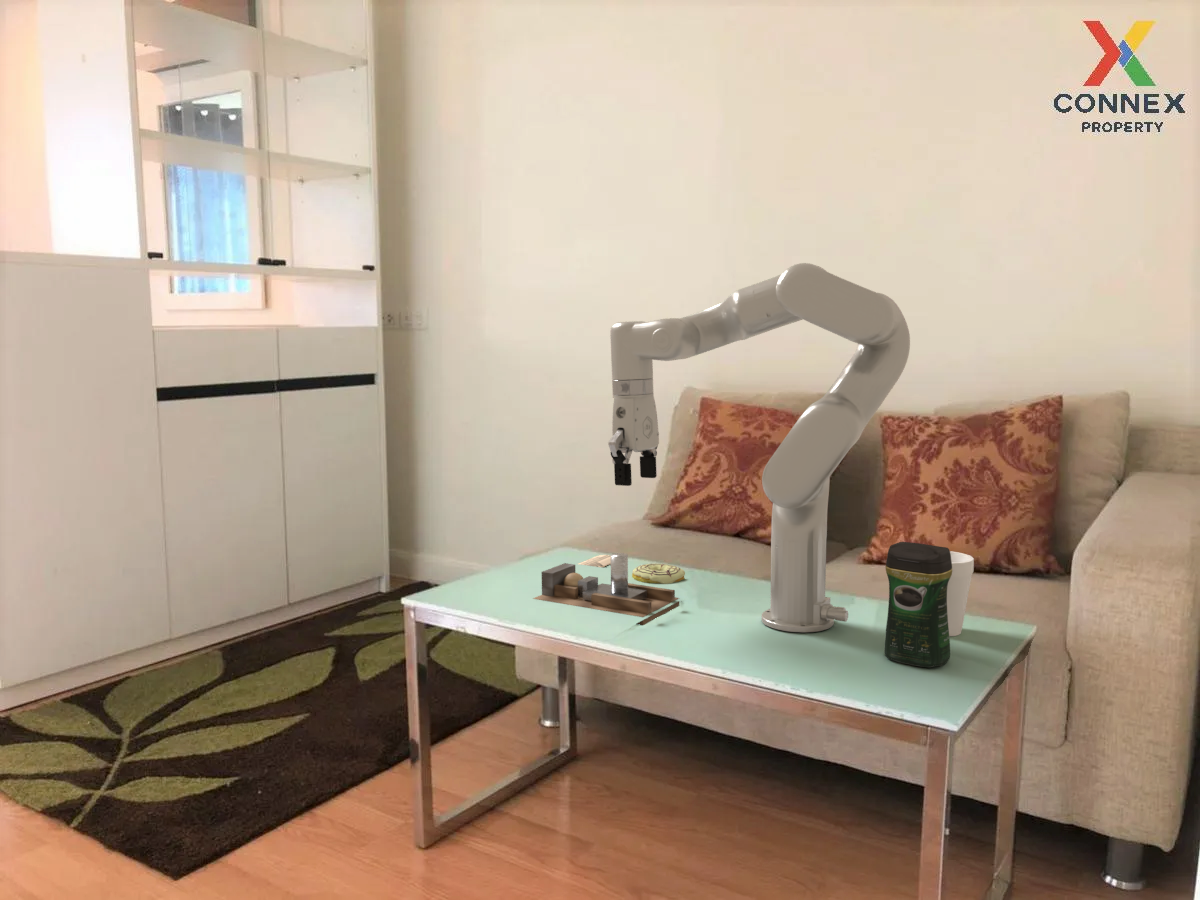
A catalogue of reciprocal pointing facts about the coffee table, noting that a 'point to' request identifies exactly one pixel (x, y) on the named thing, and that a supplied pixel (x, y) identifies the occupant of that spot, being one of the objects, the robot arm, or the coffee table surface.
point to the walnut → (572, 579)
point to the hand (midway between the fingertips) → (636, 481)
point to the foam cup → (958, 590)
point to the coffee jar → (918, 604)
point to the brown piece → (605, 596)
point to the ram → (612, 582)
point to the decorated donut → (658, 573)
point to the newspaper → (598, 561)
